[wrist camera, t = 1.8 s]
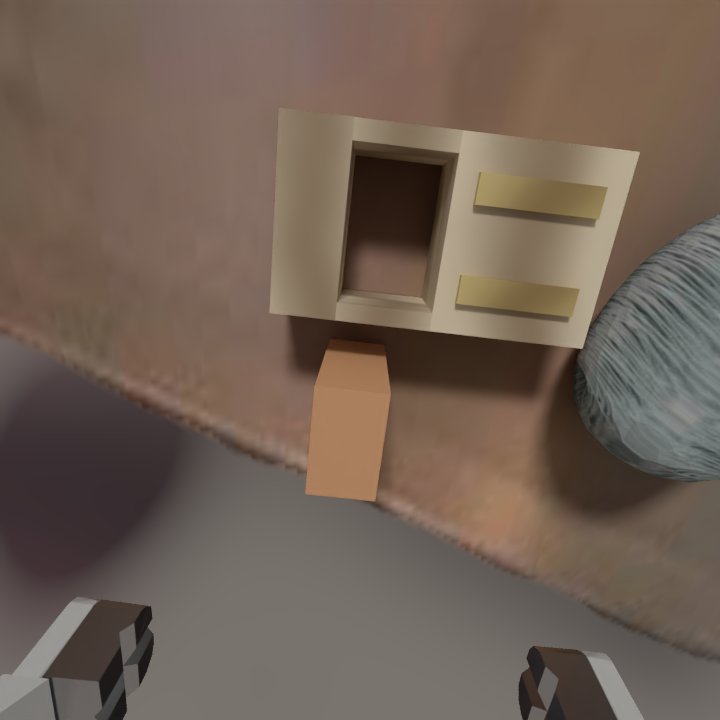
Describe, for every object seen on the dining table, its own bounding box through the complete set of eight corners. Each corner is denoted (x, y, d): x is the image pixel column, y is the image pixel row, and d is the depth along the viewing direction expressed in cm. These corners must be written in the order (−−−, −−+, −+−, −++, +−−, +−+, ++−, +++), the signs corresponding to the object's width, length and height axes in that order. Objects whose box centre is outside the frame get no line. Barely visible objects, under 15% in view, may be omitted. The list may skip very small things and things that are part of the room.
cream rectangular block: (286, 297, 22) (268, 314, 18) (296, 129, 20) (277, 105, 16) (546, 327, 23) (585, 350, 19) (589, 164, 20) (644, 150, 16)
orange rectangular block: (322, 420, 25) (305, 493, 18) (330, 338, 23) (314, 385, 16) (373, 426, 25) (374, 501, 18) (384, 344, 23) (390, 394, 17)
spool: (655, 516, 22) (813, 571, 13) (512, 393, 25) (554, 361, 15) (833, 330, 22) (1123, 245, 13) (672, 226, 25) (813, 91, 15)
